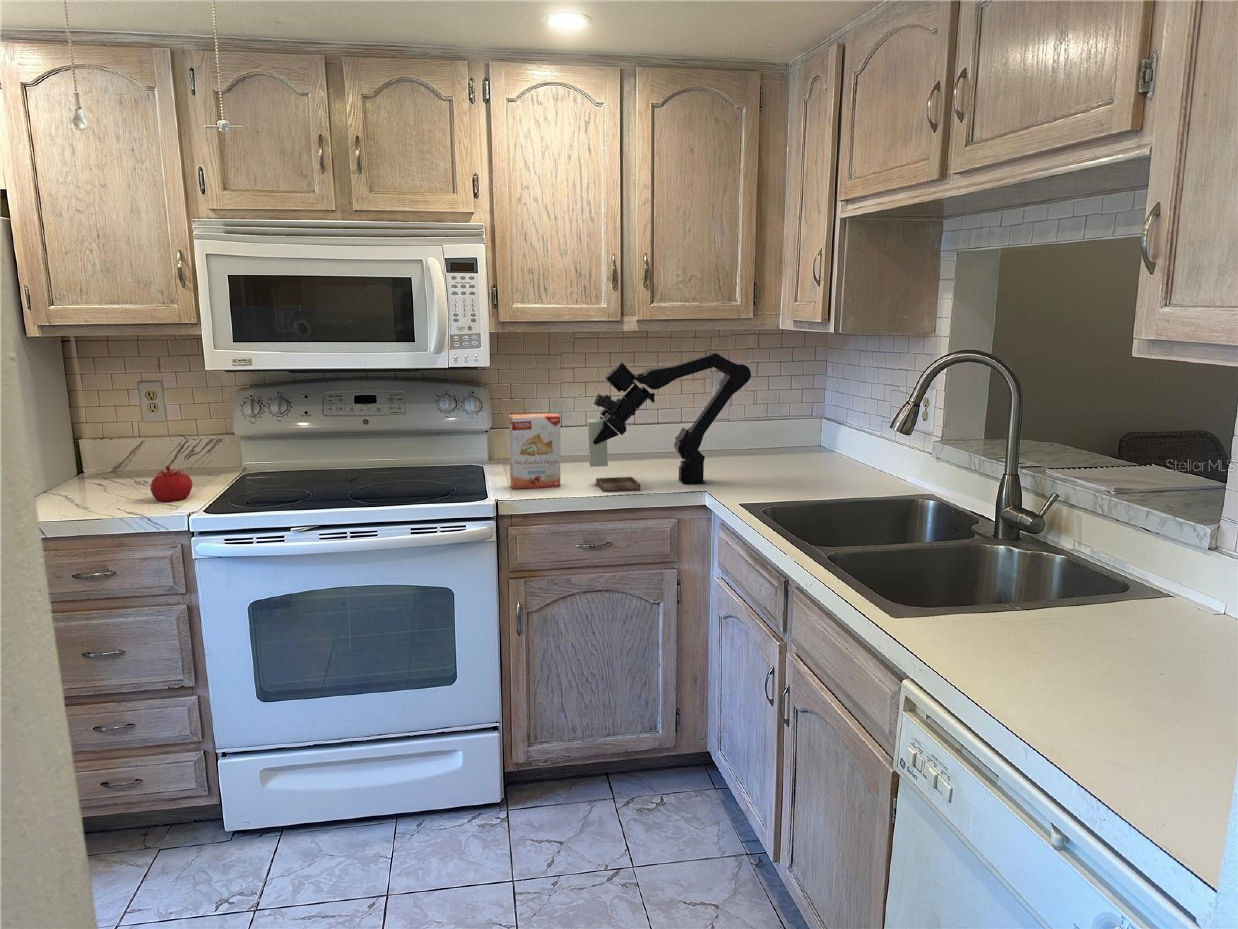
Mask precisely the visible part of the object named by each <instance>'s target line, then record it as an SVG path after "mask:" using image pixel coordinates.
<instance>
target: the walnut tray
mask: <svg viewBox="0 0 1238 929" xmlns="http://www.w3.org/2000/svg"><path fill="white" fill-rule="evenodd" d="M595 485H596V486H597V487H598V488H599V489H600V490H601V491H602V492H603V493H611V492H612V493H613V492H635V491H637V492H638V491H641V483H640V482H638V480H637V479H635V478H634V476H622V477H621V476H620V477H600V478H599V477H597V478H596V480H595Z"/></svg>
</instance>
